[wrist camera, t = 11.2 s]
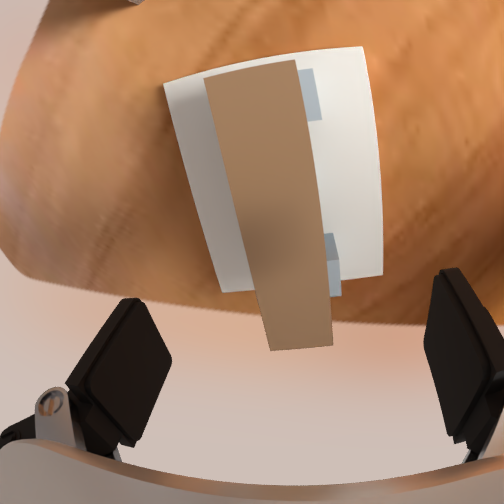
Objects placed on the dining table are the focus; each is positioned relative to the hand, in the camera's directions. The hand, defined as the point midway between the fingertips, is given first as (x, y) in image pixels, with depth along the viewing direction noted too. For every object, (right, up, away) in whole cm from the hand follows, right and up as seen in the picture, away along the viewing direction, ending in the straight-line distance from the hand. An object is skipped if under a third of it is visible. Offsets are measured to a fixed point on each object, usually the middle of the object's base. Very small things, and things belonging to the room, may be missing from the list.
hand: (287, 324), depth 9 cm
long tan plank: (+1, +5, +9) cm, 11 cm away
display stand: (+1, +8, +14) cm, 16 cm away
